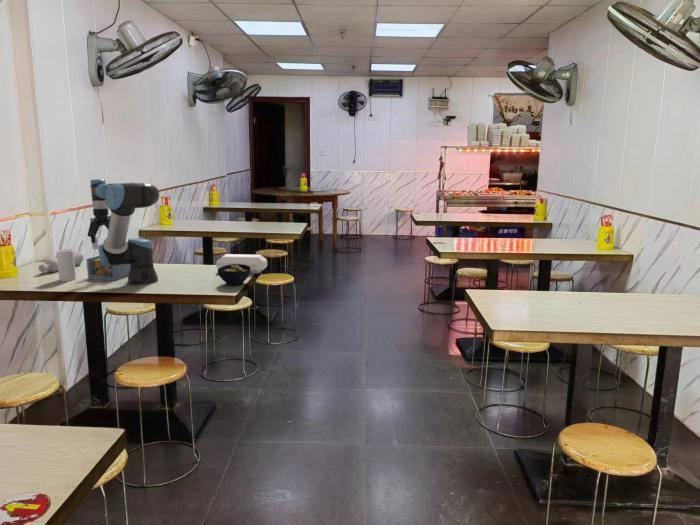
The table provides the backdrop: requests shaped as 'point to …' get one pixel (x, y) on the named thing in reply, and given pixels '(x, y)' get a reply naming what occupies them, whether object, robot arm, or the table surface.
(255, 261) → the crystal
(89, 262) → the cabinet
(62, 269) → the cup
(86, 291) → the table surface
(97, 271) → the tan wooden block
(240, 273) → the bowl
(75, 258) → the bottle
